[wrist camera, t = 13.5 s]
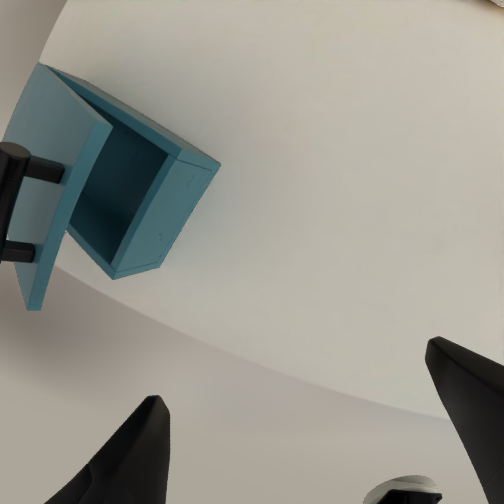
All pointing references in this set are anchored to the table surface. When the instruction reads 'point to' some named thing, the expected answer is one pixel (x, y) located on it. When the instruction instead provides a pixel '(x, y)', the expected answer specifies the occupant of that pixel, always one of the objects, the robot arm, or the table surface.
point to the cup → (499, 2)
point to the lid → (44, 175)
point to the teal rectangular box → (135, 187)
